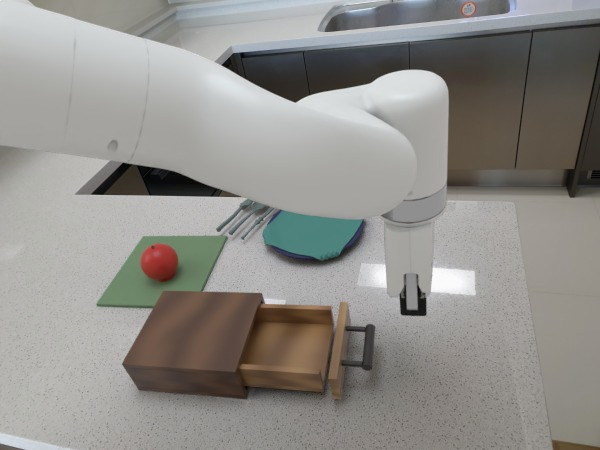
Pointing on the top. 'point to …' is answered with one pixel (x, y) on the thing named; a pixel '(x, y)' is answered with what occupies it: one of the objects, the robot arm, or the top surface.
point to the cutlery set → (301, 232)
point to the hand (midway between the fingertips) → (413, 310)
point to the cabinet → (194, 343)
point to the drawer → (301, 348)
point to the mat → (189, 277)
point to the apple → (159, 262)
